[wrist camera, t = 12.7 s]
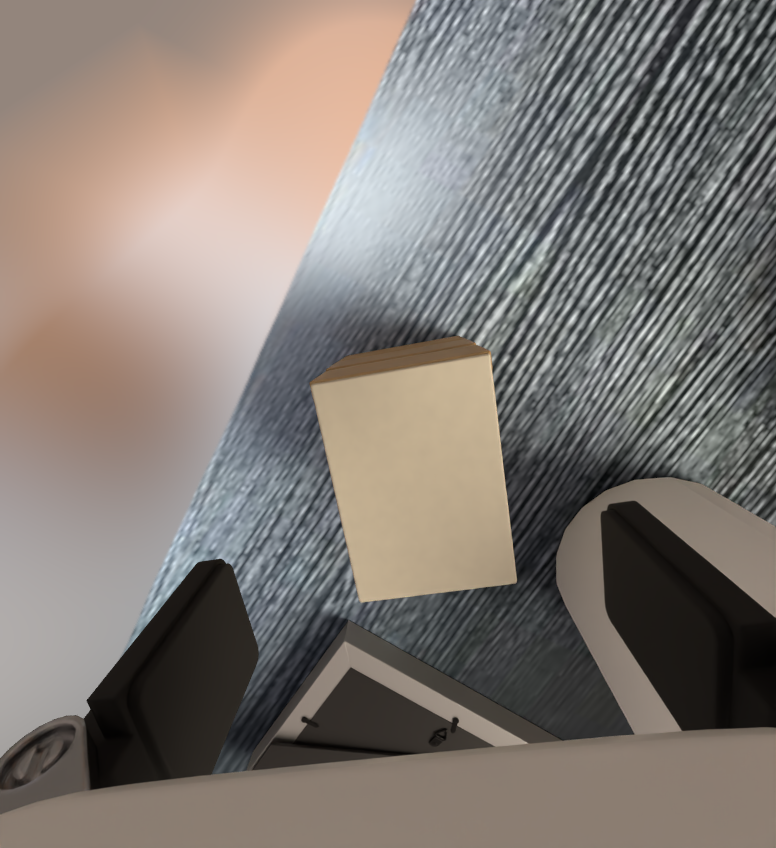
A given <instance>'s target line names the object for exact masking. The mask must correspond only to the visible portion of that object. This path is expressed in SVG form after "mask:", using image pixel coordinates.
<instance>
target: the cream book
mask: <svg viewBox="0 0 776 848" xmlns="http://www.w3.org/2000/svg"><path fill="white" fill-rule="evenodd" d="M492 369H493V368H492V360H491V352H490V351H489V350H487V349H485V348H482V347H480V346H478V345H472V346H467V347H461V348H455V349H450V350H444V351H438V352H433V353H427V354H421V355H416V356H410V357H404V358H399V359H393V360H387V361H381V362H376V363H370V364H364V365H359V366H353V367H347V368H342V369H336V370H330V371H326V372H324V373H323V374H321V375H320V376H318V377H317V378H315V379H314V380H312V381H311V382H310V388H311V392H312V396H313V400H314V404H315V408H316V412H317V417H318V421H319V426H320V430H321V434H322V439H323V443H324V448H325V452H326V456H327V461H328V465H329V470H330V474H331V478H332V483H333V487H334V492H335V496H336V500H337V505H338V509H339V514H340V518H341V523H342V527H343V531H344V536H345V540H346V545H347V549H348V553H349V558H350V562H351V567H352V571H353V575H354V580H355V584H356V589H357V593H358V597H359V601H360V602H369V601H377V600H385V599H393V598H401V597H409V596H418V595H426V594H434V593H442V592H450V591H458V590H466V589H474V588H482V587H490V586H498V585H506V584H515V583H517V576H516V568H515V559H514V551H513V542H512V534H511V526H510V517H509V509H508V500H507V492H506V484H505V475H504V467H503V458H502V450H501V442H500V433H499V425H498V416H497V408H496V400H495V391H494V383H493V374H492Z"/></svg>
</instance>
